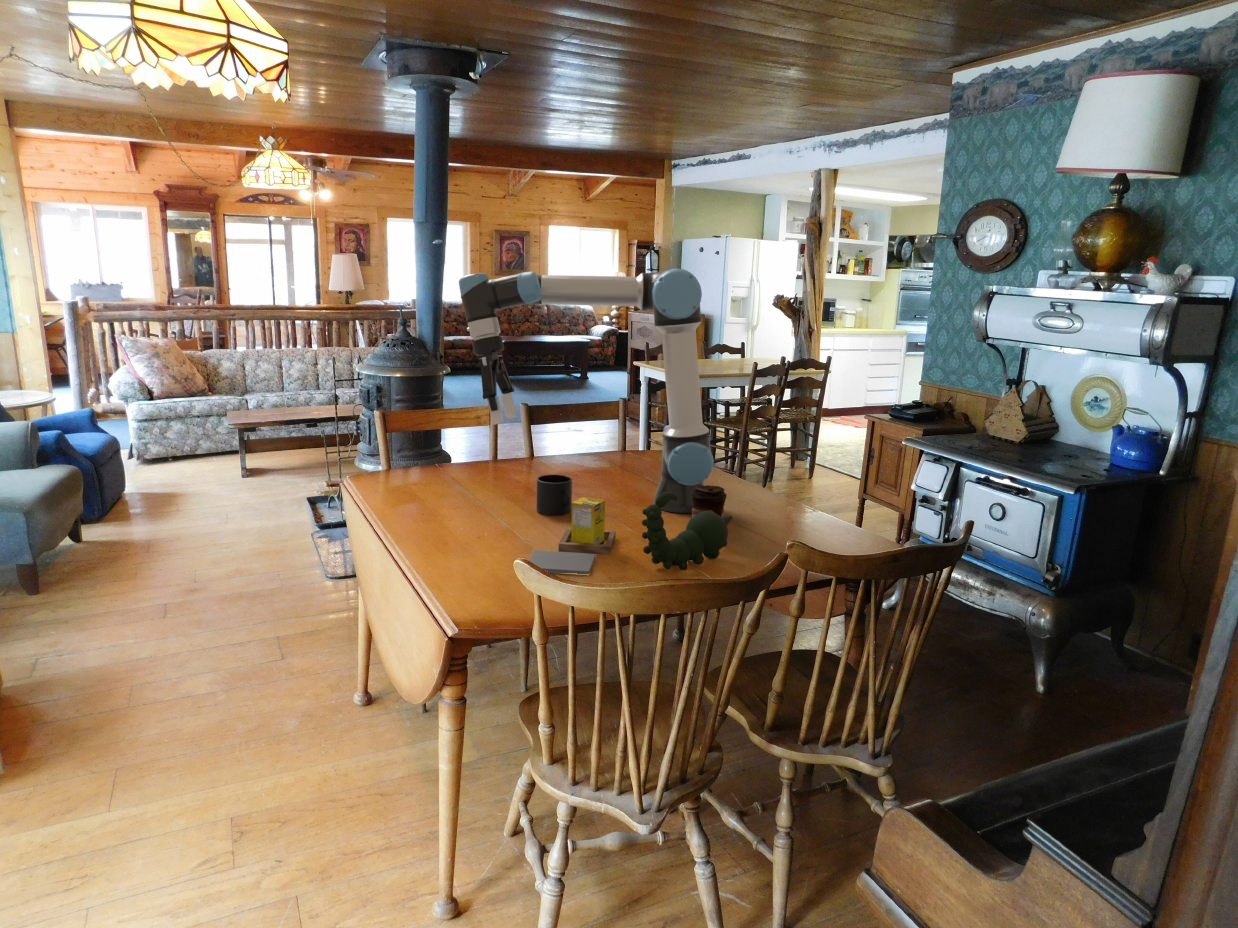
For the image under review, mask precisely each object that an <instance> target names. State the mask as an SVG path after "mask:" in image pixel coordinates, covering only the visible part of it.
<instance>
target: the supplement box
mask: <svg viewBox="0 0 1238 928" xmlns="http://www.w3.org/2000/svg"><path fill="white" fill-rule="evenodd" d="M605 506H606V500H605V499H600V498H599V499H598V498H594V497H593V498H592V497H586V496H583V497H580V498H578V499H576V500H574V501H572V510H571V528H572V533H571V534H572V535H571V539H570V541H571V542H570V543H584V544H600V545H605V540H604V530H605V516H606V514H605V513H606V507H605Z"/></svg>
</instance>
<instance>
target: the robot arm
mask: <svg viewBox="0 0 1238 928" xmlns="http://www.w3.org/2000/svg"><path fill="white" fill-rule="evenodd" d="M458 286H459V291H460V299H461V302H462V307H463V311H464V314H465V315H464V316H465V319H466V322H467V326H468V327H467V328H466V331H467V332H469V336H470V339H472V340H473V341H472V342H471V345H472V349H473V353H474V355H475V356H476V357H479V356H482V357H479V359H478V362H479V365H480V377H481V385H482V386H481V387H482V399H483V400H487V401H486V402H487V405H488V410H489V414H490V418H491V423H492V426H495V425H499V424H504V423H505V421H504V420H505V419H504V415H503V410H504V413H505V418H506V420H510V419H514V418H515V419H516V418H517V417H518V415H517V411H516V405H515V402H514V398H513V394H512V393H514V392H515V387H513V385H512V381H511V380H510V377H509V373H508V370H507V368H506V365H505V362H504V358H503V357H504V356H503V355H502V354H500V355H499V352H502V351H504V350H505V346H504V342H503V337H502V336H501V335H499V334H501V332H502V331H501V328H500V322H499V320H498V315H497V311H501V310H504V309H508V308H514V307H521V306H523V305H559V306H560V305H563V306H564V305H565V306H567V305H568V306H572V305H573V306H604V307H605V306H606V307H607V306H608V307H609V306H612V307H613V306H615V307H637V309H639V310H640V311H650V312H653V318H654V319H653V320H654V327H655V328H656V329H657V330H658V331H659V332H660V333H661V342H662V356H663V368H664V377H665V378H664V379H665V390H666V391H665V392H666V402H667V415H668V416H667V417H668V425H665V426H664V428H663V432H662V435H661V436H662V450H661V451H662V455H661V456H662V457H661V474H660V475H661V477H660V481H659V484H658V485H657V488H656V491H655V494H654V498H653V504H654V505H655V504H656V503H655V500H656V498H657V496H658V495H660V494H661V493H663V492H673V493H674V494H676V496H677V497H678V500H677V501H675V500H674V499H672V500H670V501H669V502H668V503H667V504H666V505H665V506H664V507H661V511H665V512H672V513H678V514H692V506H693V500H692V492H693V491H694V490H695V487H696V486H705V483H704V481H706V480H707V479H708V478H709V477H710V476H711V474H712V471H713V469H714V462H715V461H714V456H713V452H712V451H711V439H710V429H709V428H708V427H707V426H706V425H704V422H703V412H702V397H701V385H700V371H699V357H698V344H697V328H698V327H700V325H701V324H702V316H701V315H702V314H701V313H702V311H701V302H702V297H703V296H702V295H703V292H702V287H701V284H700V282H699V280H698V278H697V277H696V276H695V275H694V274H693V273H691V271H688V270H686V269H683V268H672V269H666V270H663V271H658V272H641V273H639V275H638V276H620V275H619V276H618V275H617V276H616V275H615V276H613V275H611V276H609V275H608V276H607V275H606V276H605V275H562V274H561V275H556V274H555V275H552V274H551V275H550V274H543V275H542V274H537V273H536V272H535V271H534V270H533V271H532V270H531V271H524V272H520V273H516V274H510V275H508V276H503V277H499V278H498V277H497V278H495V279H490V277H489V276H488V274H487V273H485V272H477V273H471V274H468V275H467V274H466V275H465V276H462V277H460V279H459V281H458ZM497 386H498V387H499V390H500V392H501V394H500V397H501V400H502V405H503V410H502V407H501V401H500V398H499V396H497V394H498V393H497V392H498V391H497V388H498V387H497Z"/></svg>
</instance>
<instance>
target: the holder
mask: <svg viewBox="0 0 1238 928" xmlns="http://www.w3.org/2000/svg"><path fill="white" fill-rule="evenodd" d="M571 533H572V527H567V528H566V530H565V531H564V533H563V535H562V537H561V539H560V541H559V542H558V552H573V553H589V554H596V555H599V556H601V555H604V556H611V552H612V549H613V547H614V544H615V541H616V530H610V529H609V530H607V529H606V530H605V529H604V541H606V542H605V544H602V545H600V544H584V543H571V542H570V541H571V535H572V534H571Z"/></svg>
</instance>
